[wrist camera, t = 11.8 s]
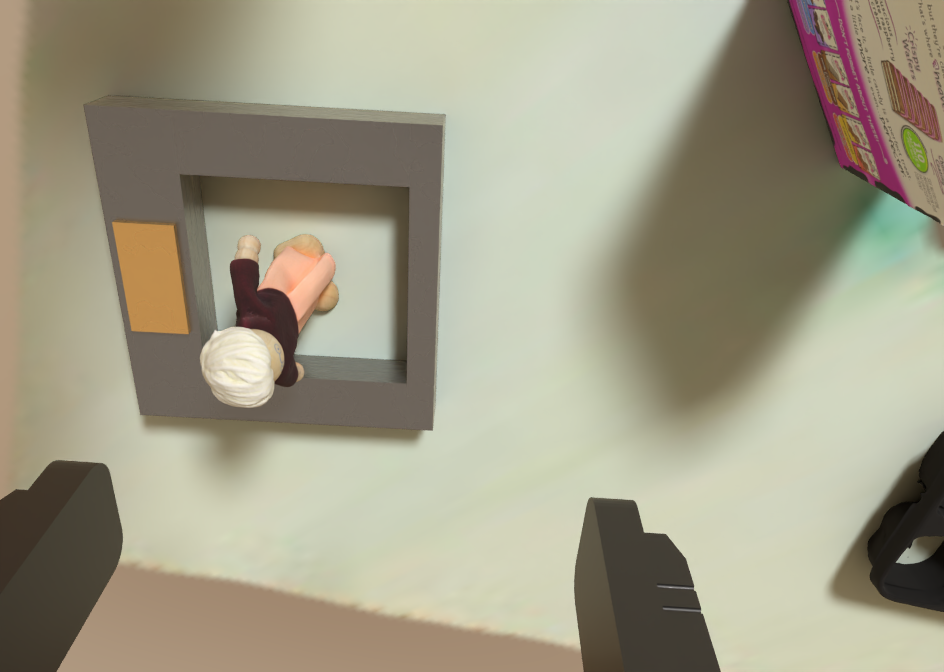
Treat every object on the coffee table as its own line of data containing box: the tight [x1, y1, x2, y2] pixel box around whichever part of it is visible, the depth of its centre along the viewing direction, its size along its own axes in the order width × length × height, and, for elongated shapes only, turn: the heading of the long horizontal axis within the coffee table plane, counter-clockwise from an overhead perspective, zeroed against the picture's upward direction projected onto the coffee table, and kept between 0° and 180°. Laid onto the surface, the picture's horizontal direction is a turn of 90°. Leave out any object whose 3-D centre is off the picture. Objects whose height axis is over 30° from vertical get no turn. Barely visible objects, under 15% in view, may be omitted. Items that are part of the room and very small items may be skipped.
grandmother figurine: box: [200, 234, 339, 408], centre depth 35 cm, size 8×4×13 cm, turn 22°
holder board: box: [84, 95, 446, 431], centre depth 39 cm, size 17×16×3 cm
